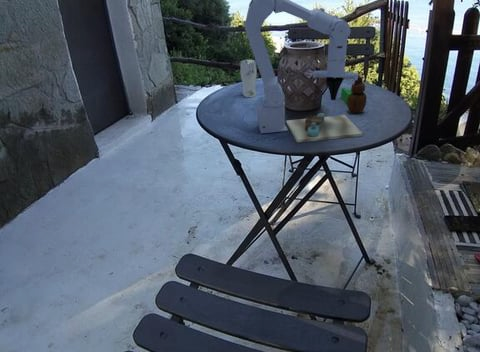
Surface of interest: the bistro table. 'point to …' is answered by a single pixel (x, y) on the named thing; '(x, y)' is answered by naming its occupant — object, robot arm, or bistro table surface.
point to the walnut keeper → (313, 119)
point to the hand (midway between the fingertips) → (333, 99)
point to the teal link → (315, 127)
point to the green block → (345, 94)
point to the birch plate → (325, 129)
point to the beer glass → (248, 77)
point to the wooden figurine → (357, 97)
